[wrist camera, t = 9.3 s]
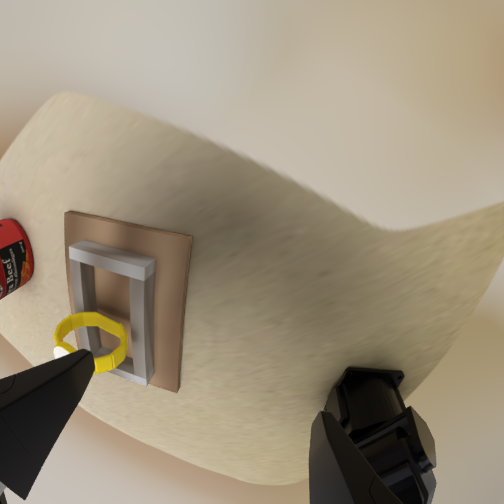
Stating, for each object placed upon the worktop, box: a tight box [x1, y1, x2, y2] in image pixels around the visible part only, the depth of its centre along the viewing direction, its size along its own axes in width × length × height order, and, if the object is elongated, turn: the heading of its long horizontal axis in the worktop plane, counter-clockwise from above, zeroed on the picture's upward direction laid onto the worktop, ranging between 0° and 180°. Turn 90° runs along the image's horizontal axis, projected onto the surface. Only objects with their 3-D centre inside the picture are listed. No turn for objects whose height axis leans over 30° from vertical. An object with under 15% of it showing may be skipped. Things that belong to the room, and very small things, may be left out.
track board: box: [64, 211, 192, 393], centre depth 21 cm, size 12×16×3 cm
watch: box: [54, 312, 128, 374], centre depth 17 cm, size 6×3×6 cm, turn 77°
